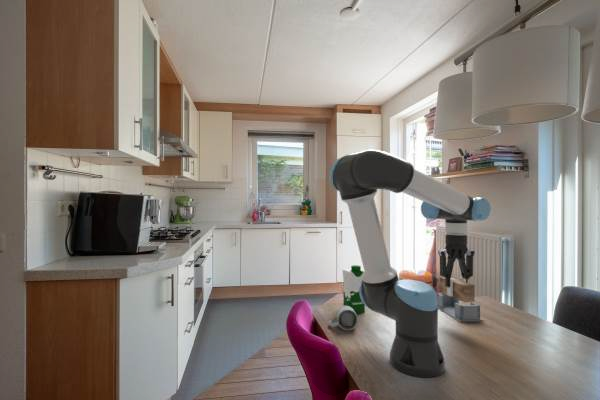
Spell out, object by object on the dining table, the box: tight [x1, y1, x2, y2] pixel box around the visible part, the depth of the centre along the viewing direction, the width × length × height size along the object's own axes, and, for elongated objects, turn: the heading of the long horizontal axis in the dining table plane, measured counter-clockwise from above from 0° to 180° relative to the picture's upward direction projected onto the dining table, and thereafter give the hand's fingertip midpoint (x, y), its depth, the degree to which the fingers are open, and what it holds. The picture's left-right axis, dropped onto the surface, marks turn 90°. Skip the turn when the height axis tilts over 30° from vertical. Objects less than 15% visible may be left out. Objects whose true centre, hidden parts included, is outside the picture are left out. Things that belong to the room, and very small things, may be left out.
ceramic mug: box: [328, 305, 359, 331], centre depth 122 cm, size 11×8×8 cm
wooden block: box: [439, 276, 476, 303], centre depth 121 cm, size 14×4×6 cm, turn 13°
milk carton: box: [342, 264, 366, 314], centre depth 140 cm, size 9×9×20 cm
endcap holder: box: [436, 292, 484, 323], centre depth 137 cm, size 20×10×6 cm, turn 5°
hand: (456, 295), depth 120 cm, fingers closed on wooden block, 4 cm apart
